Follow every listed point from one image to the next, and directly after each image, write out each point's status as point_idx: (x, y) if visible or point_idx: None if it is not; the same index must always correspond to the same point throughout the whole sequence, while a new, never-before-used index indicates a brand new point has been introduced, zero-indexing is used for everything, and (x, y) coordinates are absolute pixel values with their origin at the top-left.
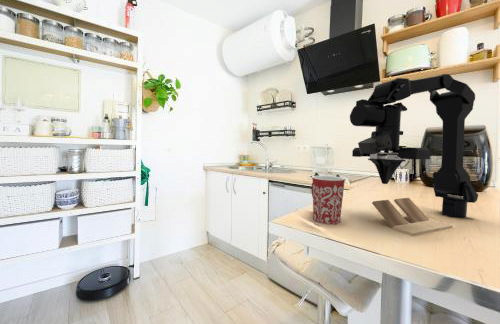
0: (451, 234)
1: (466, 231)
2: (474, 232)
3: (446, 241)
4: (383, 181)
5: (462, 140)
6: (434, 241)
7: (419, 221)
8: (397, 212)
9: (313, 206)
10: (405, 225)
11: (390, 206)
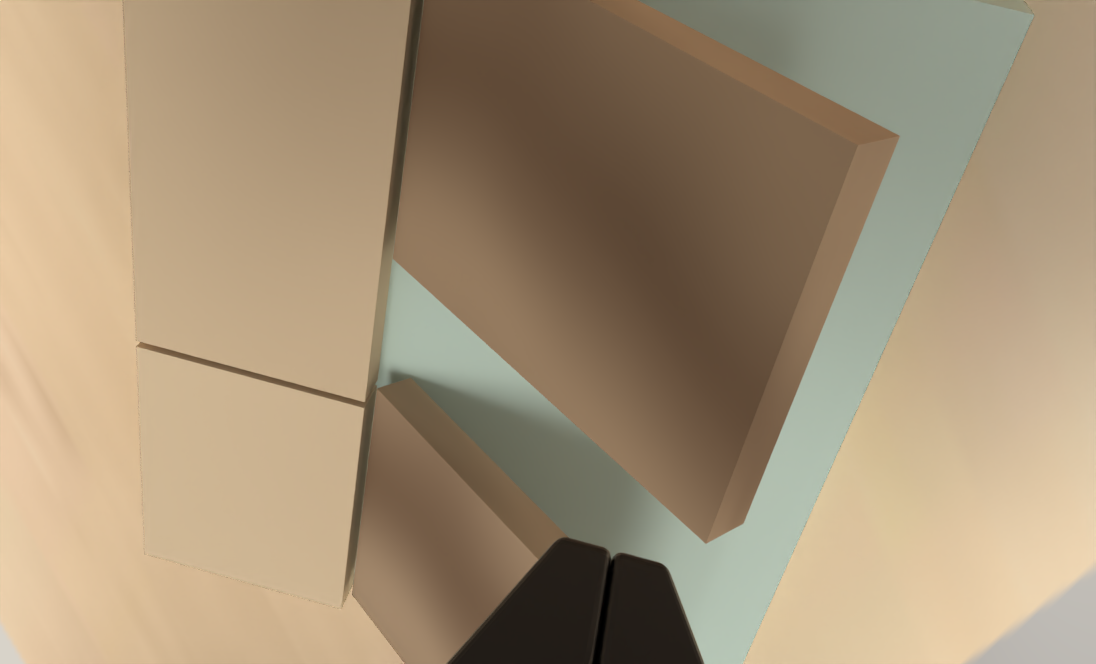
0: None
1: (151, 611)
2: (113, 628)
3: (39, 161)
4: (593, 594)
5: None
6: (75, 42)
7: (373, 448)
8: (519, 333)
9: None
10: (360, 113)
11: (618, 374)
